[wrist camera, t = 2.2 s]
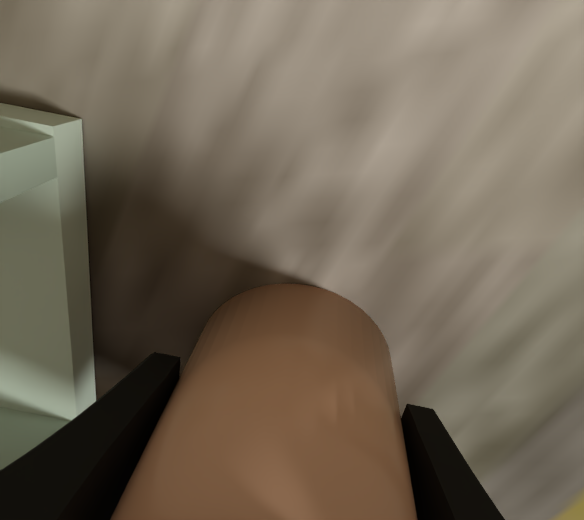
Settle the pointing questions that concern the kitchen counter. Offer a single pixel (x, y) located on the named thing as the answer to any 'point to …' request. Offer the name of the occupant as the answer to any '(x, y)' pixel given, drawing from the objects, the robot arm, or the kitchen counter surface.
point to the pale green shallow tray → (42, 279)
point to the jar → (279, 419)
